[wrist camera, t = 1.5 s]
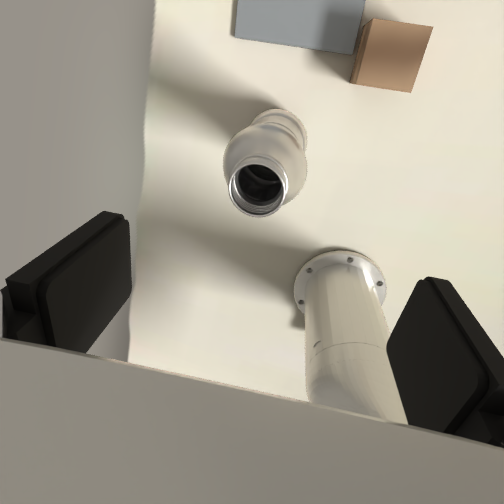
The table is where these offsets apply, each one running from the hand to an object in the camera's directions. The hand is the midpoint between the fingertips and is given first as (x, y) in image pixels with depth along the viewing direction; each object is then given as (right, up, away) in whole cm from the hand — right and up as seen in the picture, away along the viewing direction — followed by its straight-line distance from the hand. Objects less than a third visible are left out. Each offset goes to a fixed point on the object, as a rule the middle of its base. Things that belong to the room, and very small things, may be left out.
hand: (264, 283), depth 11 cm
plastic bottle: (+3, +14, +27) cm, 31 cm away
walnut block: (+13, +20, +22) cm, 33 cm away
